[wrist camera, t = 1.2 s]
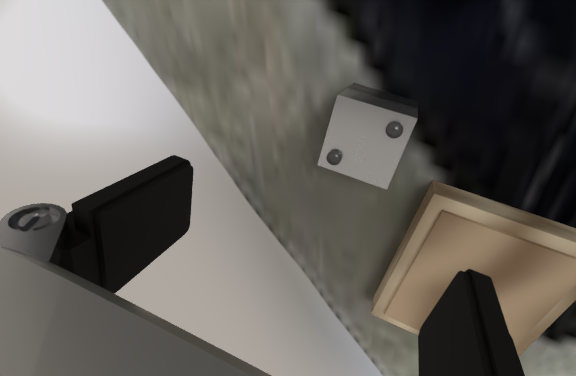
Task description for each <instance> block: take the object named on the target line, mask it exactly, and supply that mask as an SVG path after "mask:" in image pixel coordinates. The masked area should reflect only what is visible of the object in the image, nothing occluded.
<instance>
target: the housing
mask: <svg viewBox="0 0 576 376" xmlns="http://www.w3.org/2000/svg"><path fill="white" fill-rule="evenodd" d="M417 119H418V101H415V100H411V99H408V98H404V97H401V96H397V95H394V94H390V93H387V92H383V91H380V90H376V89H373V88H369V87H366V86H363V85H359V84H356V83H354V84H352V85H351V86H349V87H348V88H346V89H345V90H343V91H342V92H341V93H339V94H338V95H337V98H336V102H335V105H334V109H333V112H332V116H331V119H330V123H329V126H328V130H327V133H326V137H325V140H324V144H323V147H322V151H321V154H320V158H319V161H318V165H319V166H322V167H324V168H327V169H330V170H333V171H336V172H338V173H341V174H344V175H347V176H350V177H352V178H355V179H358V180H361V181H364V182H367V183H369V184H372V185H375V186H378V187H381V188H383V189H386V190H387V188H388V186H389V184H390V181H391V179H392V177H393V174H394V172H395V170H396V167H397V165H398V163H399V161H400V158H401V156H402V154H403V151H404V149H405V147H406V144H407V142H408V140H409V137H410V135H411V133H412V131H413V128H414V126H415V124H416V121H417Z"/></svg>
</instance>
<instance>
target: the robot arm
mask: <svg viewBox="0 0 576 376" xmlns="http://www.w3.org/2000/svg"><path fill="white" fill-rule="evenodd" d="M192 182H193V167H192V166H191V164H190V162H189V161H188V160H186V159H183V158H181V157H178V156H175V155H174V156H170V157H168V158H166V159H164V160H162V161H160V162H158V163H156V164H153V165H151V166H149V167H147V168H145V169H143V170H141V171H139V172H137V173H135V174H133V175H130V176H129V177H126V178H124V179H122V180H120V181H118V182H116V183H114V184H112V185H110V186H107V187H105V188H104V189H101V190H99V191H97V192H95V193H93V194H91V195H89V196H87V197H85V198H82V199H80V200H78V201H76V202H74V203H72V210H73V211H71V212H69V213H66V211H65V209H64V208H62V207H60V206H58V205H54V204H46V203H40V204H31V205H27V206H23V207H20V208H18V209H15V210H13V211H11V212H10V213H8V214H6V215H5V216H4V217H3V218H2V219H1V221H0V376H271V375H269V374H267V373H265V372H263V371H262V370H260V369H258V368H256V367H254V366H252V365H250V364H248V363H246V362H244V361H242V360H241V359H239V358H237V357H235V356H233V355H231V354H229V353H227V352H225V351H223V350H221V349H219V348H217V347H215V346H214V345H212V344H210V343H208V342H206V341H204V340H202V339H200V338H198V337H196V336H195V335H193V334H191V333H189V332H187V331H185V330H183V329H181V328H179V327H177V326H175V325H173V324H171V323H170V322H168V321H166V320H164V319H162V318H160V317H158V316H156V315H154V314H152V313H150V312H148V311H146V310H144V309H142V308H140V307H138V306H136V305H135V304H133V303H131V302H129V301H127V300H125V299H123V298H121V297H119V296H117V295H115V294H114V293H116V292H117V291H118V290H120V289H121V288H122V287H123V286H124V285H125V284H127V283H128V282H129V281H130V280H131V279H132V278H134V277H135V276H136V275H137V274H138V273H140V272H141V271H142V270H143V269H144V268H145V267H147V266H148V265H149V264H150V263H151V262H153V261H154V260H155V259H156V258H157V257H158V256H160V255H161V254H162V253H163V252H164V251H166V250H167V249H168V248H169V247H170V246H171V245H172V244H174V243H175V242H176V241H177V240H178V239H180V238H181V237H182V236H183V235H184V234H185V233H186V232H187V231H188V229H189V226H190V215H191V199H192V184H193V183H192ZM418 349H419V376H525V375H524V372H523V369H522V366H521V363H520V360H519V357H518V354H517V351H516V348H515V345H514V341H513V339H512V337H511V335H510V334H509V331H508V328H507V325H506V321H505V318H504V315H503V312H502V309H501V306H500V303H499V300H498V297H497V294H496V291H495V288H494V284H493V281H492V279H491V277H489V276H487V275H485V274H482V273H479V272H477V271H474V270H472V269H467V270H466V271H465V272H463V271H459V272H458V273H457V274H456V275H455V277H454V278H453V280H452V281H451V283H450V284H449V286H448V287H447V289H446V290H445V292H444V293H443V295H442V296H441V298H440V299H439V301H438V302H437V304H436V305H435V307H434V308H433V310H432V311H431V313H430V314H429V316H428V317H427V319H426V320H425V322H424V323H423V324H422V326H421V328H420V331H419V336H418Z"/></svg>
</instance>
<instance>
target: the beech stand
mask: <svg viewBox="0 0 576 376" xmlns="http://www.w3.org/2000/svg"><path fill="white" fill-rule="evenodd" d="M467 269H472V270H474V271H477V272H479V273H482V274H485V275H487V276H489V277H491V279H492V281H493V284H494V288H495V291H496V294H497V297H498V300H499V303H500V306H501V309H502V312H503V315H504V318H505V321H506V325H507V328H508V331H509V334H510V335H511V337H512V339H513V341H514V345H515V348H516V351H517V354H518V357H519V356H520V355H521V354H522V353H523V352H524V351H525V350H526V349H527V348H528V347H529V346H530V345H531V344H532V343H533V342H534V341H535V340H536V339H537V338H538V337H539V336H540V335H541V334H542V333H543V332H544V331H545V330H546V329H547V328H548V327H549V326H550V325H551V324H552V323H553V322H554V321H555V320H556V319H557V318H558V317H559V316H560V315H561V314H562V313H563V312H564V311H565V310H566V309H567V308H568V307H569V306H570V305H571V304H572V303H573V302H574V301H575V300H576V228H573V227H570V226H567V225H564V224H561V223H558V222H555V221H552V220H549V219H546V218H543V217H540V216H538V215H535V214H532V213H529V212H526V211H523V210H520V209H517V208H514V207H511V206H508V205H505V204H502V203H499V202H496V201H493V200H490V199H487V198H484V197H481V196H478V195H475V194H473V193H470V192H467V191H464V190H461V189H458V188H455V187H452V186H449V185H446V184H443V183H440V182H437V181H434V180H433V181H432V183H431V185H430V187H429V189H428V191H427V192H426V194H425V196H424V198H423V200H422V202H421V204H420V206H419V208H418V210H417V212H416V214H415V216H414V218H413V220H412V222H411V224H410V226H409V228H408V230H407V232H406V234H405V235H404V237H403V239H402V241H401V243H400V245H399V247H398V249H397V251H396V253H395V255H394V257H393V259H392V261H391V263H390V265H389V267H388V269H387V271H386V273H385V275H384V277H383V278H382V280H381V282H380V284H379V286H378V288H377V290H376V292H375V294H374V298H373V304H372V309H371V314H372V315H374V316H376V317H379V318H381V319H383V320H385V321H387V322H390V323H392V324H394V325H396V326H399V327H401V328H403V329H405V330H407V331H410V332H412V333H414V334H416V335H419V331H420V328H421V326H422V324H423V323H424V322H425V320H426V319H427V317H428V316H429V314H430V313H431V311H432V310H433V308H434V307H435V305H436V304H437V302H438V301H439V299H440V298H441V296H442V295H443V293H444V292H445V290H446V289H447V287H448V286H449V284H450V283H451V281H452V280H453V278H454V277H455V275H456V274H457V273H458V272H459V271H463V272H465V271H466V270H467Z"/></svg>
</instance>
